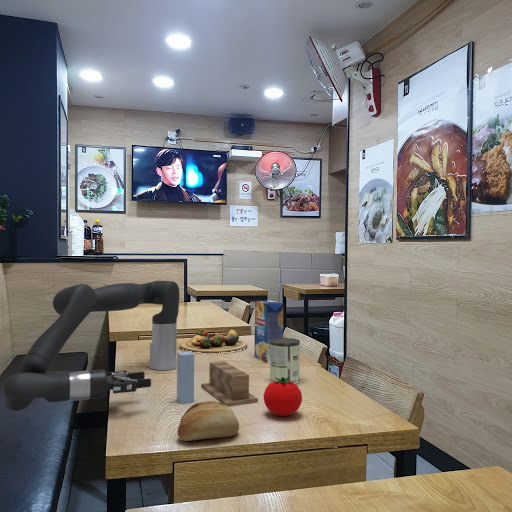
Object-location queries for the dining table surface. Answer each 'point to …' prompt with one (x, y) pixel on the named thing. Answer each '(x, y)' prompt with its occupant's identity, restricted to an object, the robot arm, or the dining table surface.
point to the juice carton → (267, 327)
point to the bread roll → (208, 422)
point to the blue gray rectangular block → (185, 377)
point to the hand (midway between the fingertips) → (147, 378)
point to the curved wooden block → (228, 384)
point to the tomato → (282, 397)
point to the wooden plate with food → (213, 342)
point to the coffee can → (284, 359)
